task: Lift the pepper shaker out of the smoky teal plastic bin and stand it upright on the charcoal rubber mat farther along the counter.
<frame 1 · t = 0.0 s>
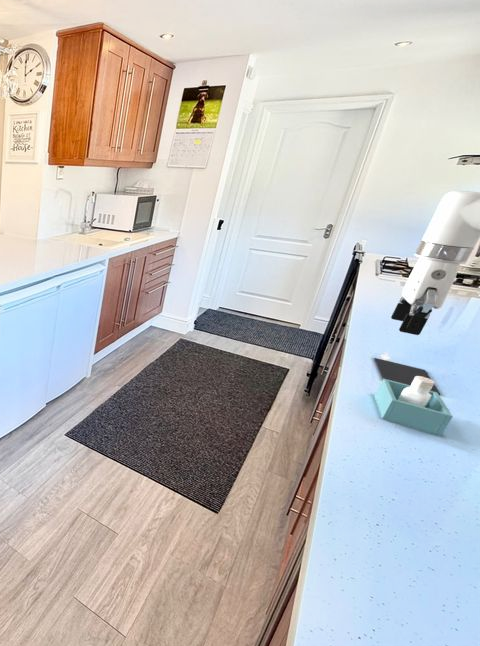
hand: (404, 326, 91), 21 cm above the countertop, tool pointing down, fingers open, 9 cm apart
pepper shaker: (405, 414, 96), resting on bin
bin: (404, 414, 96), on the countertop
mat: (404, 375, 115), on the countertop
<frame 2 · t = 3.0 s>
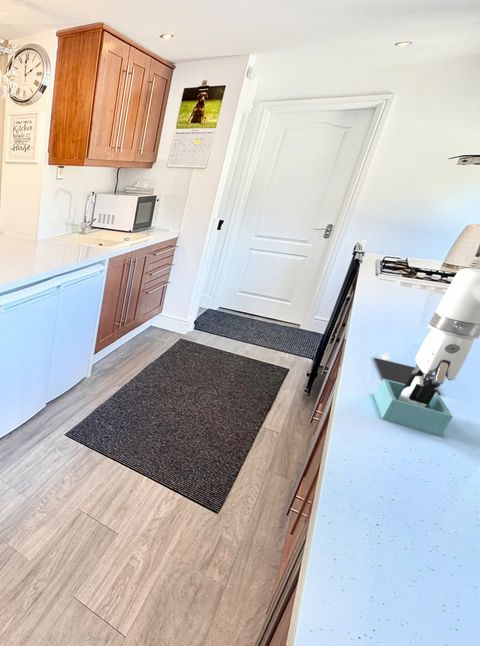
hand: (415, 395, 94), 5 cm above the countertop, tool pointing down, fingers closed on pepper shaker, 4 cm apart
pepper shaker: (405, 414, 96), resting on bin, touching gripper
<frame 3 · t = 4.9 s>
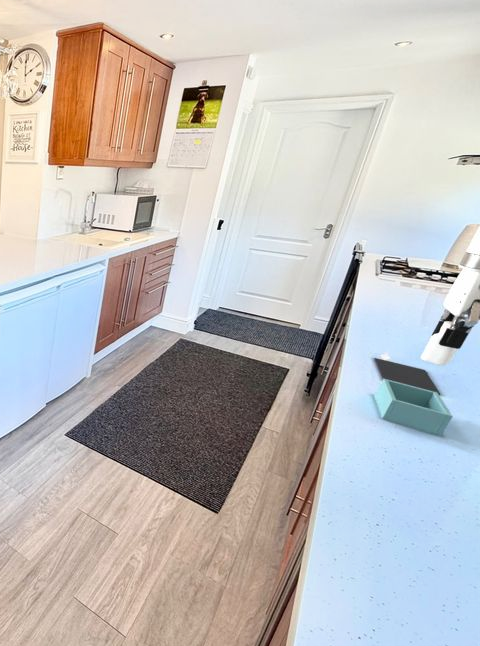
hand: (445, 341, 90), 19 cm above the countertop, tool pointing down, fingers closed on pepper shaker, 4 cm apart
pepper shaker: (433, 362, 92), point 13 cm above the countertop, touching gripper
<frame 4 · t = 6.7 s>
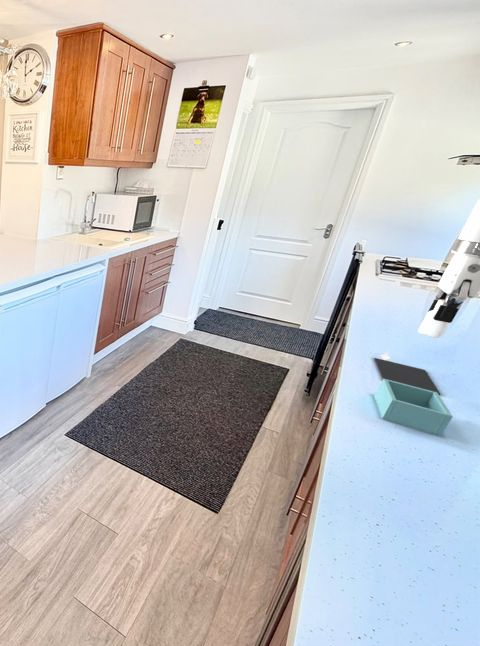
hand: (439, 317, 105), 19 cm above the countertop, tool pointing down, fingers closed on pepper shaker, 4 cm apart
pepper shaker: (428, 335, 107), point 14 cm above the countertop, touching gripper
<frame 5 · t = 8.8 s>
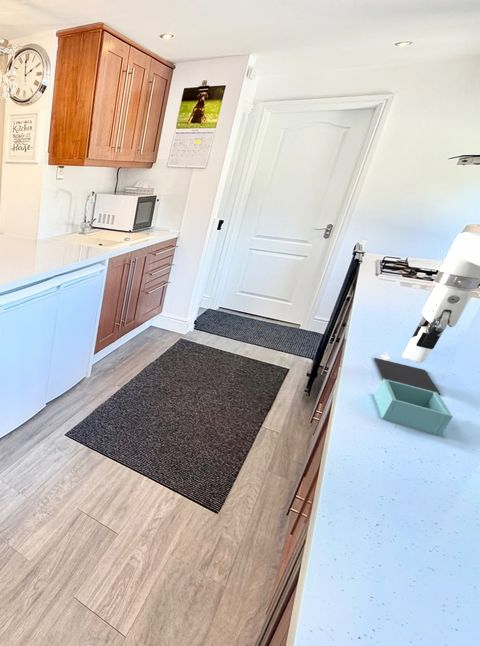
hand: (422, 343, 111), 10 cm above the countertop, tool pointing down, fingers closed on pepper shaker, 4 cm apart
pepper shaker: (412, 360, 113), point 5 cm above the countertop, touching gripper
when the fingers open (6 cm above the countertop, at t = 10.4 s): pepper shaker stays where it is, resting on mat.
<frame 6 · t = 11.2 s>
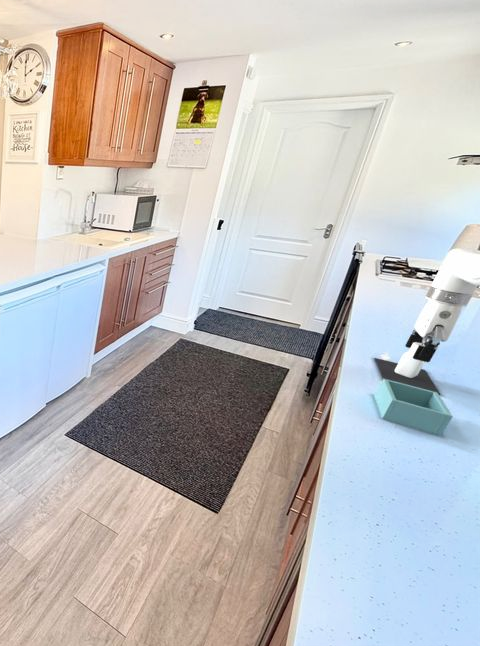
hand: (416, 354, 112), 7 cm above the countertop, tool pointing down, fingers open, 9 cm apart
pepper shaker: (404, 375, 114), resting on mat
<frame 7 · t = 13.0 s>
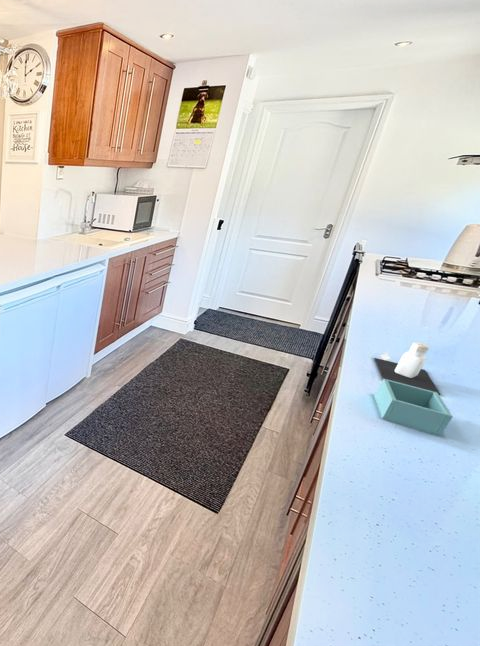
nothing on the countertop moved.
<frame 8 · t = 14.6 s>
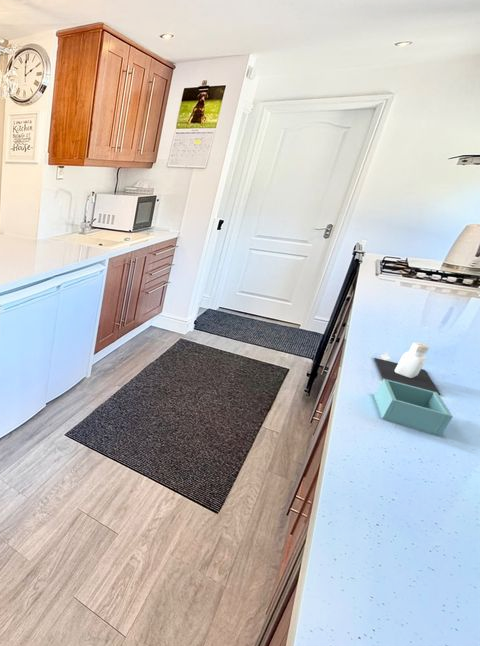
nothing on the countertop moved.
at the end: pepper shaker inside the target area on the mat (0.1 cm from its centre), point 0.2 cm above the mat's base; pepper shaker tilted 0°; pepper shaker touching mat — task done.
